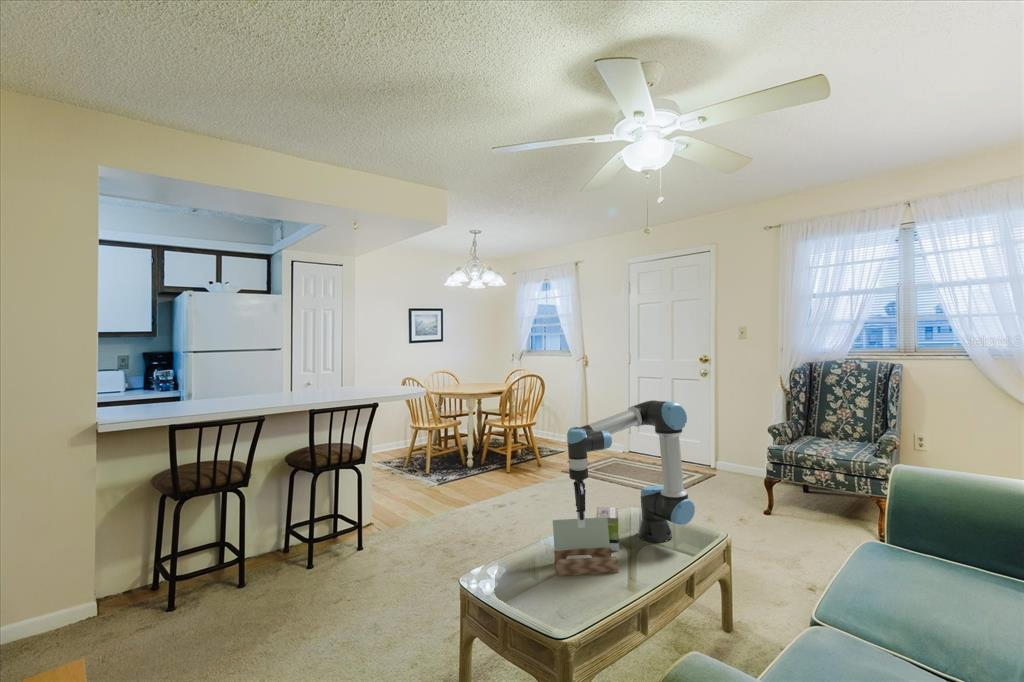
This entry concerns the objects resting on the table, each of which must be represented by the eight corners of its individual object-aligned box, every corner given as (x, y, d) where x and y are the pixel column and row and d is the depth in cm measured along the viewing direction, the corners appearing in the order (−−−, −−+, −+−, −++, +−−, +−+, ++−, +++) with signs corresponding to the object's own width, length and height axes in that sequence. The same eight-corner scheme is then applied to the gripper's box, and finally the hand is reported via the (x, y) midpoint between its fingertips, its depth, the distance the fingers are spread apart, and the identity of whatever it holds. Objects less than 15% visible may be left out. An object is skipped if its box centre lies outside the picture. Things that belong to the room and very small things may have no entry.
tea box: (620, 551, 210) (618, 517, 211) (596, 550, 212) (595, 517, 213) (619, 538, 225) (617, 506, 225) (597, 537, 227) (596, 506, 227)
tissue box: (610, 559, 203) (610, 547, 203) (618, 572, 191) (617, 559, 191) (554, 562, 201) (554, 550, 202) (558, 576, 189) (558, 562, 190)
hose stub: (591, 558, 202) (591, 552, 201) (592, 563, 199) (593, 558, 198) (565, 560, 201) (565, 554, 200) (566, 565, 198) (566, 559, 197)
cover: (609, 546, 203) (609, 546, 204) (607, 517, 205) (606, 516, 206) (554, 550, 202) (554, 549, 202) (552, 520, 204) (552, 520, 205)
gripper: (566, 464, 199) (569, 521, 199) (571, 472, 186) (575, 533, 185) (584, 463, 199) (587, 520, 199) (590, 471, 186) (594, 532, 186)
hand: (581, 526), depth 192 cm, fingers closed
